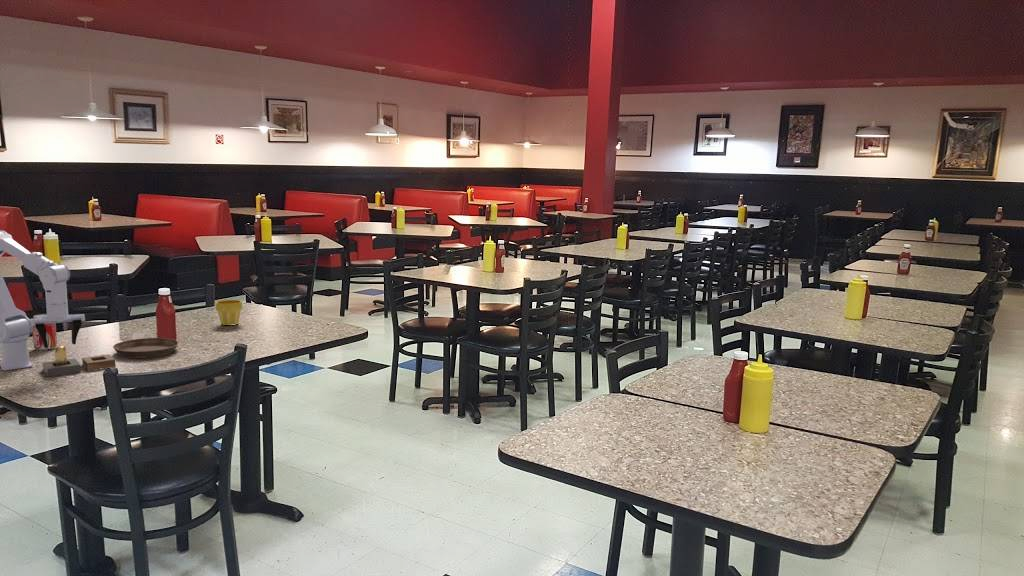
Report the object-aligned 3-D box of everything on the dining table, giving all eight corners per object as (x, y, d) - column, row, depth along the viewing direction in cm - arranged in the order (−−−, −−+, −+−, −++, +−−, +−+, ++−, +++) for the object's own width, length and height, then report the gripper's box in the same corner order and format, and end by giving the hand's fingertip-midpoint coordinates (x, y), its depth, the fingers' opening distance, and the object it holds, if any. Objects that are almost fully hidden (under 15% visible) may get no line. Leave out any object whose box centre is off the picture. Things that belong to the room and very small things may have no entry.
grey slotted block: (43, 370, 231) (42, 362, 231) (75, 365, 237) (74, 358, 237) (48, 376, 224) (47, 369, 224) (81, 372, 230) (80, 364, 230)
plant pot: (216, 322, 305) (215, 299, 303) (242, 321, 309) (241, 298, 307) (216, 327, 295) (215, 304, 294) (243, 326, 299) (242, 303, 297)
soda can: (29, 349, 254) (26, 316, 252) (47, 345, 261) (45, 312, 259) (43, 352, 252) (40, 318, 250) (62, 347, 258) (59, 314, 256)
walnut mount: (82, 365, 238) (82, 357, 237) (109, 361, 243) (109, 354, 243) (87, 370, 232) (87, 363, 232) (115, 366, 237) (115, 359, 237)
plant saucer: (152, 343, 270) (151, 334, 269) (191, 350, 261) (191, 341, 260) (100, 355, 251) (99, 346, 251) (141, 363, 242) (140, 354, 242)
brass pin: (55, 370, 231) (53, 346, 229) (66, 369, 233) (64, 345, 231) (57, 373, 229) (55, 348, 227) (68, 371, 230) (66, 347, 229)
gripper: (31, 307, 219) (34, 351, 222) (85, 303, 229) (88, 344, 231) (27, 303, 225) (31, 346, 227) (81, 299, 234) (84, 340, 236)
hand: (59, 345), depth 229 cm, fingers open, 7 cm apart
